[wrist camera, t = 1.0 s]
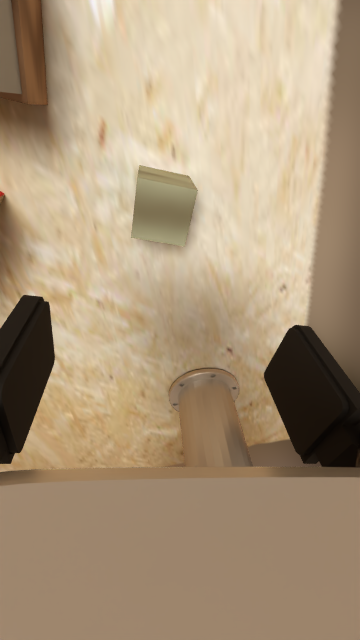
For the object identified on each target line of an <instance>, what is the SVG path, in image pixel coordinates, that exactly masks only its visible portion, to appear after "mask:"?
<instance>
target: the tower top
mask: <svg viewBox="0 0 360 640" xmlns="http://www.w3.org/2000/svg"><path fill="white" fill-rule="evenodd" d="M0 92H7V93H16V94H22V89H21V81H20V72H19V64H18V55H17V47H16V38H15V29H14V21H13V12H12V4H11V0H0Z"/></svg>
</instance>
